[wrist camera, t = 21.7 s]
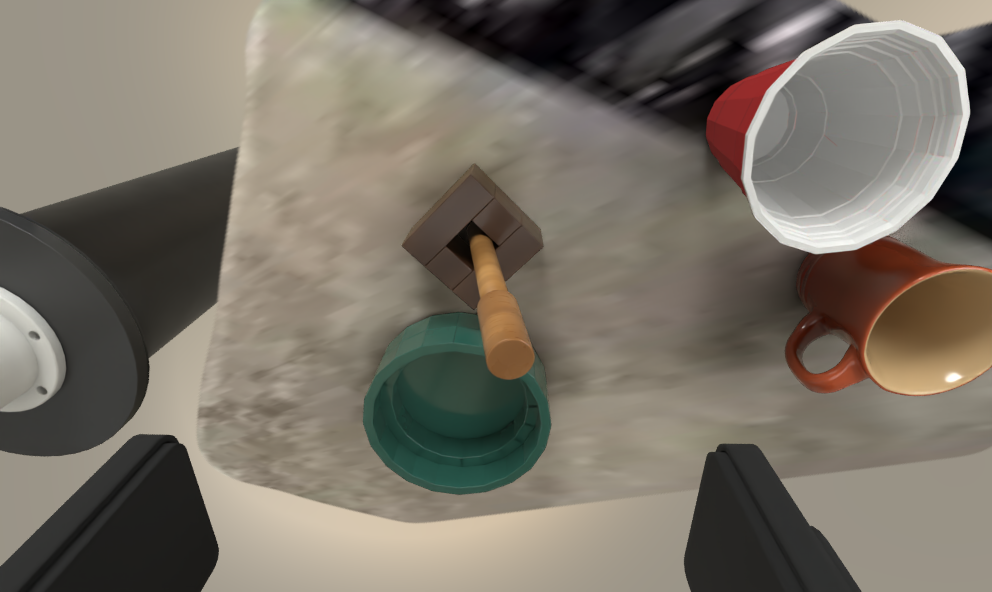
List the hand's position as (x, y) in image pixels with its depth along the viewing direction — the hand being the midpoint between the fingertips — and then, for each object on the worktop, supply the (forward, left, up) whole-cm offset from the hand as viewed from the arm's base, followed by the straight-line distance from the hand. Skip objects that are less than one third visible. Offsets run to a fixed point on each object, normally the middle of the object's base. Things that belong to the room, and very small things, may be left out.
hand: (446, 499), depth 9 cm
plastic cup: (+10, +15, -31) cm, 35 cm away
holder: (+2, -4, -30) cm, 31 cm away
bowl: (+11, -15, -30) cm, 36 cm away
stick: (+2, -4, -30) cm, 31 cm away
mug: (+24, +12, -31) cm, 41 cm away
